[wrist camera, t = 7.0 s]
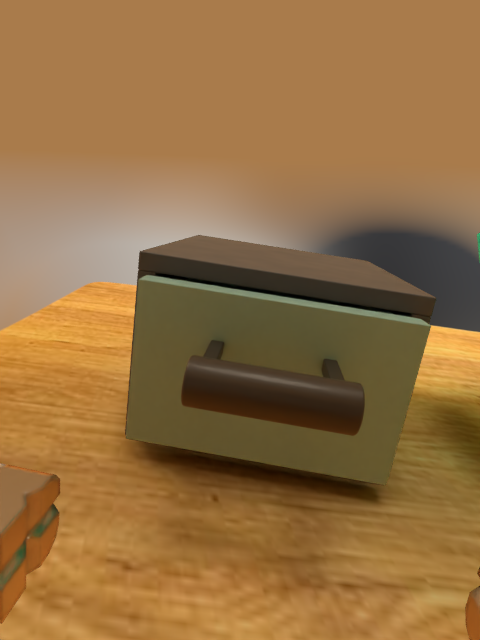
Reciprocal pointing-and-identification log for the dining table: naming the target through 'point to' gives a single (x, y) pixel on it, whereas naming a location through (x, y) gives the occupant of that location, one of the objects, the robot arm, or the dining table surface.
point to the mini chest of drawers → (284, 274)
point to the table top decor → (479, 238)
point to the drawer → (272, 376)
